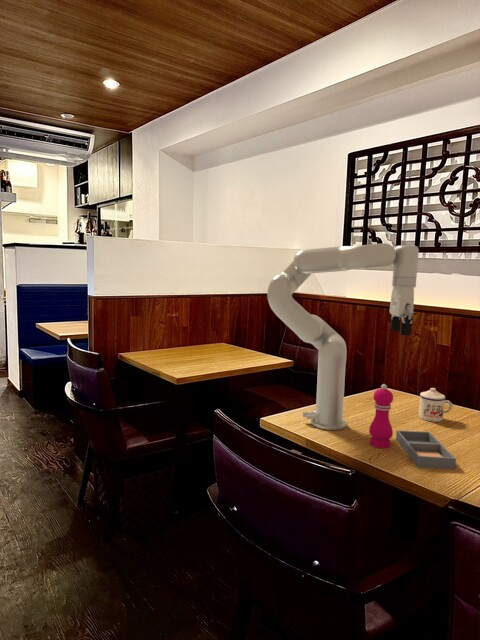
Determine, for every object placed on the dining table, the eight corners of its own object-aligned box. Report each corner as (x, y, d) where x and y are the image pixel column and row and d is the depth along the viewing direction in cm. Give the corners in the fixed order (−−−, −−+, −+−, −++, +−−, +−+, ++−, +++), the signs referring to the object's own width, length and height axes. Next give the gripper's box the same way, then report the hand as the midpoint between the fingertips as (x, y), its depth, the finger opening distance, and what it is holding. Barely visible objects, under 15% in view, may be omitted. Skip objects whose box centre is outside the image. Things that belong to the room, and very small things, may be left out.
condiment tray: (417, 467, 130) (417, 456, 130) (396, 439, 151) (396, 430, 151) (455, 468, 130) (456, 458, 130) (428, 440, 151) (429, 431, 150)
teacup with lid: (421, 421, 170) (424, 391, 168) (415, 413, 179) (417, 384, 177) (455, 423, 168) (458, 393, 167) (446, 415, 177) (449, 386, 176)
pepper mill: (393, 450, 142) (397, 388, 139) (369, 448, 143) (373, 386, 141) (390, 441, 149) (394, 382, 146) (367, 439, 150) (371, 380, 148)
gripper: (384, 281, 161) (381, 328, 163) (402, 283, 144) (397, 336, 146) (405, 281, 161) (402, 329, 163) (425, 284, 144) (421, 337, 146)
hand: (400, 332), depth 155 cm, fingers open, 9 cm apart
